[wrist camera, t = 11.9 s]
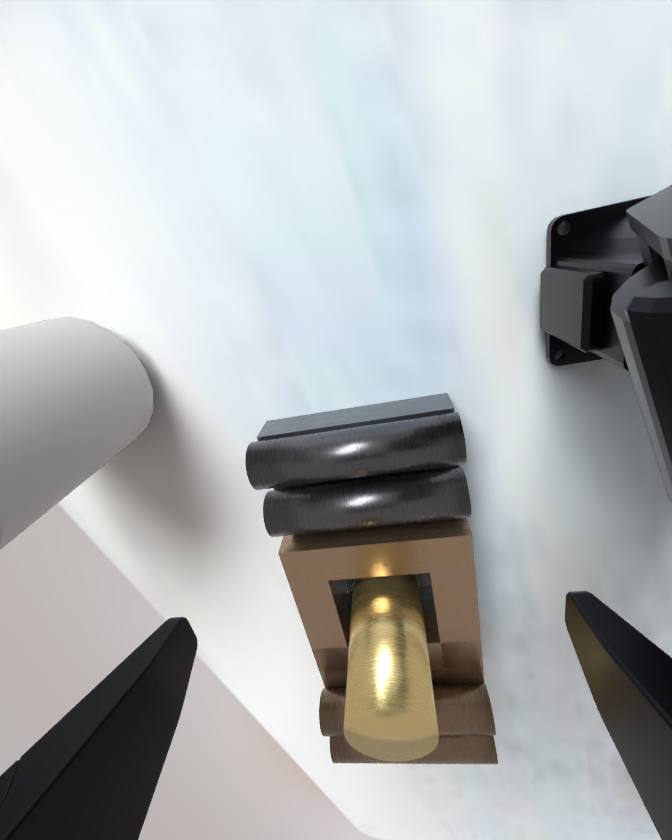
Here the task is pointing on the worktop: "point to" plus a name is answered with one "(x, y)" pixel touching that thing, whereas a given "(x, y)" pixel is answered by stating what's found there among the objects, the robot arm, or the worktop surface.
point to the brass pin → (389, 671)
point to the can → (63, 412)
